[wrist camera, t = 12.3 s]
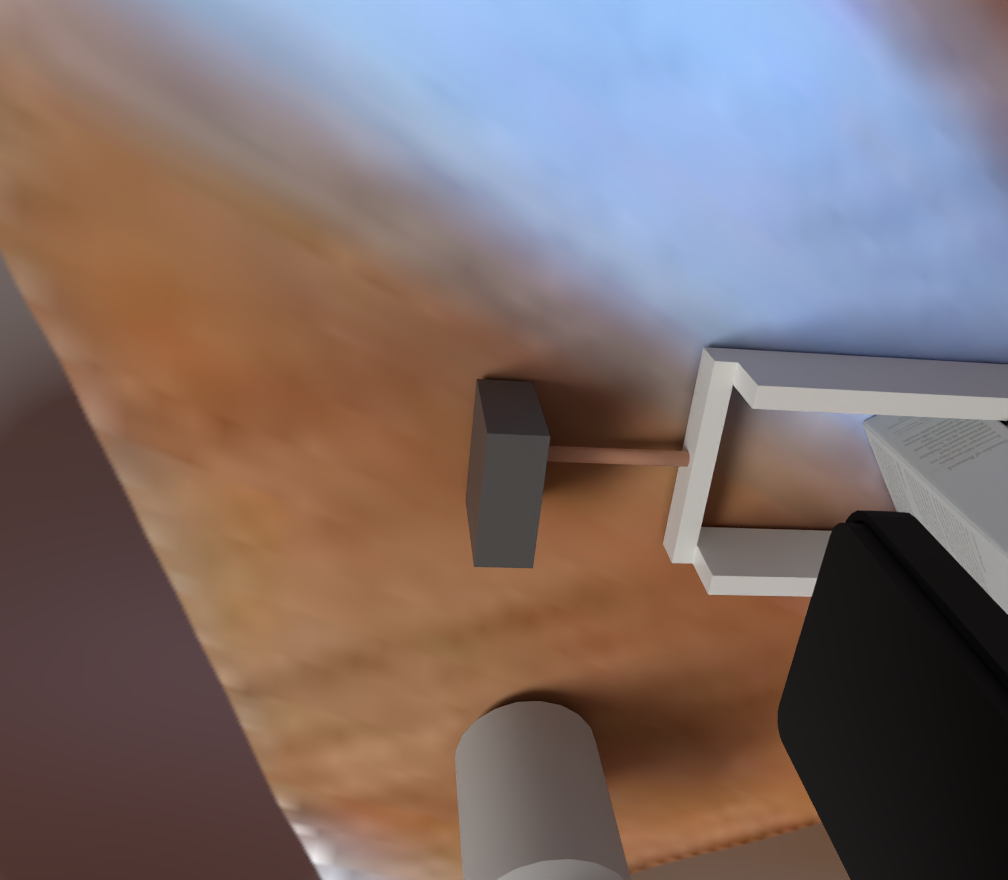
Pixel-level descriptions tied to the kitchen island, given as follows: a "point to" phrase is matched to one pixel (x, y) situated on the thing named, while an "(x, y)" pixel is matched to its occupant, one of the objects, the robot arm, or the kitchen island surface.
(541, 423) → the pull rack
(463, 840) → the can
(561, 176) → the kitchen island surface
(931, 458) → the skincare box
